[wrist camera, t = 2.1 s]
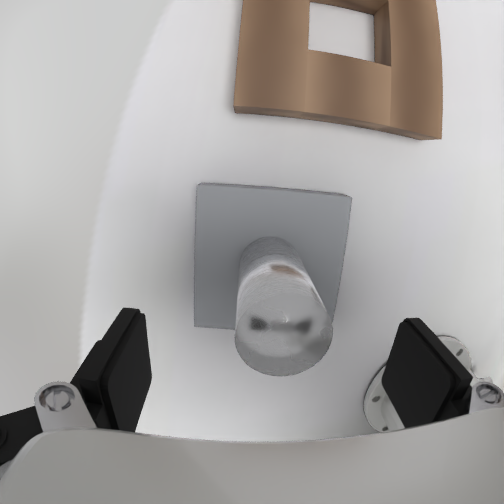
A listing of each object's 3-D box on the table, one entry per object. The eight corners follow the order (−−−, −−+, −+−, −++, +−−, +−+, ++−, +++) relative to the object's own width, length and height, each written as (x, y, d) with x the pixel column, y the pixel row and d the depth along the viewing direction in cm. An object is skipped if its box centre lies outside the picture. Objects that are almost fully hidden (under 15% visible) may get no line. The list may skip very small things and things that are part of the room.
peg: (303, 238, 21) (340, 295, 12) (295, 294, 22) (323, 376, 13) (241, 234, 20) (237, 290, 12) (238, 291, 22) (232, 374, 13)
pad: (343, 194, 22) (352, 197, 20) (324, 320, 25) (330, 332, 23) (201, 182, 21) (196, 185, 20) (198, 313, 24) (194, 326, 22)
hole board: (415, -11, 17) (431, -24, 14) (420, 140, 21) (441, 139, 18) (250, -45, 16) (250, -66, 13) (235, 112, 20) (233, 105, 17)
